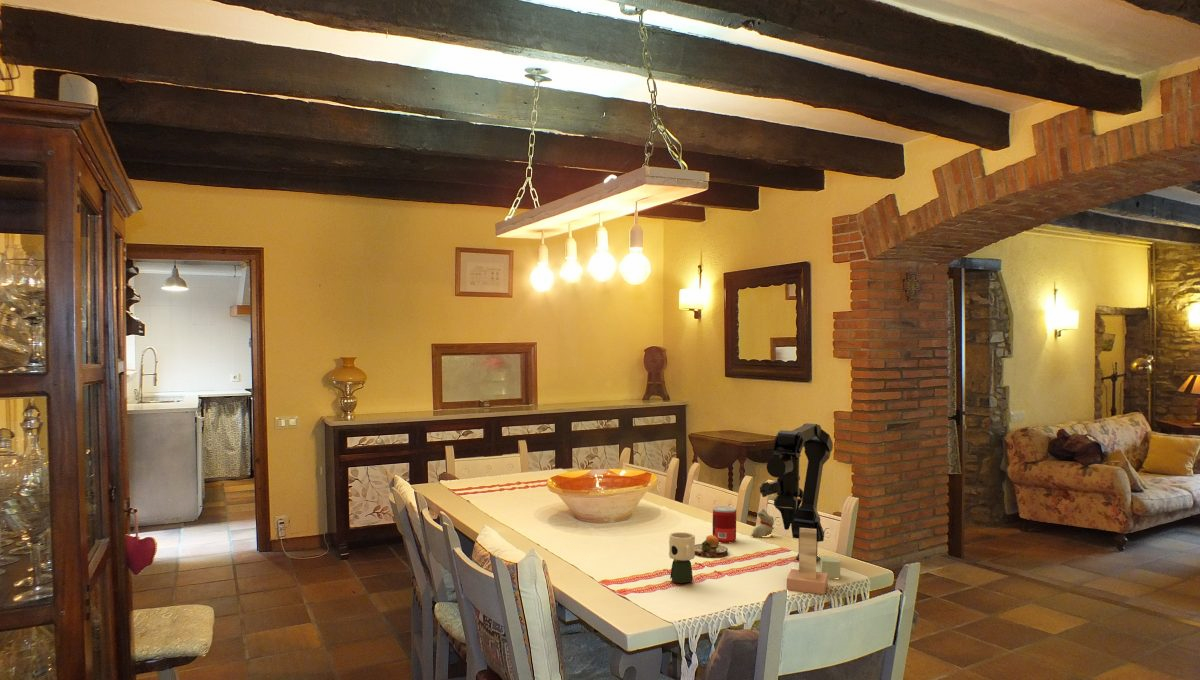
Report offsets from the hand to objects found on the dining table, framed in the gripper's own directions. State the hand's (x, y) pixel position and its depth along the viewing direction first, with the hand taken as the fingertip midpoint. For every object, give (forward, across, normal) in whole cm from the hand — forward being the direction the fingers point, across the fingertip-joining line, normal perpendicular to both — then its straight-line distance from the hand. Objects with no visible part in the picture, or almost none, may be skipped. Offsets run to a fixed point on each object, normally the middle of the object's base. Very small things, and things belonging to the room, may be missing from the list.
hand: (788, 526), depth 225 cm
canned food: (+13, -28, -25) cm, 40 cm away
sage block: (+13, +1, +12) cm, 18 cm away
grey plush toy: (+13, -40, -14) cm, 44 cm away
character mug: (+13, +24, -26) cm, 38 cm away
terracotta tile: (+13, +14, +7) cm, 20 cm away
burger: (+14, -10, -26) cm, 31 cm away
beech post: (+10, +14, +7) cm, 19 cm away
